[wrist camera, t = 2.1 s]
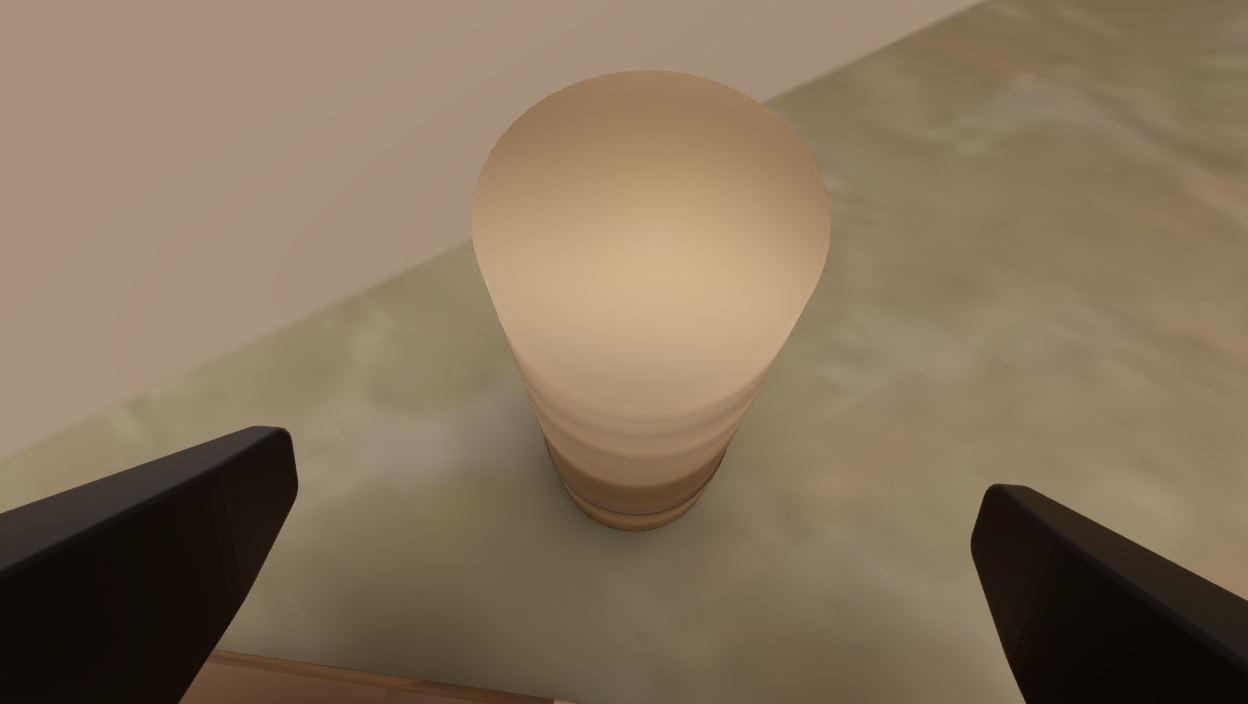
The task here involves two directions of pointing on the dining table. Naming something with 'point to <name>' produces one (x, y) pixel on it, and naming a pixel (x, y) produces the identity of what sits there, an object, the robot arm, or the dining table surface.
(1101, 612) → the robot arm
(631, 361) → the peg
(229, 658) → the socket board
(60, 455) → the dining table surface
